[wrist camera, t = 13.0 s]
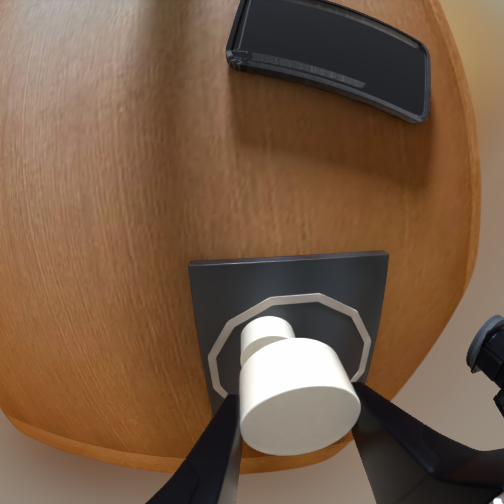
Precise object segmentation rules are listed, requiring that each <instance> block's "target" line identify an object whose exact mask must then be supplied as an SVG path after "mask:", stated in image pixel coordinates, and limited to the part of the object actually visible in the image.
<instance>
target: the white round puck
mask: <svg viewBox="0 0 504 504" xmlns="http://www.w3.org/2000/svg"><path fill="white" fill-rule="evenodd" d="M291 338H296V336H295V333H294V330H293V328H292V326H291V325H290V324H289V323H288V322H287V321H285V320H283V319H281V318H278V317H274V316H265V317H260V318H257V319H255V320H253V321H251V322H250V323H249V324H247V325H246V327H245V328H244V329H243V331H242V333H241V336H240V363H241V367H243V366H244V364H245V363H246V361H247V360H248V359H249V358H250V357H251V356H252V355H253V354H254V353H256V352H257V351H258V350H260V349H261V348H263V347H265V346H267V345H269V344H271V343H274V342H277V341H280V340H285V339H291Z"/></svg>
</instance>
